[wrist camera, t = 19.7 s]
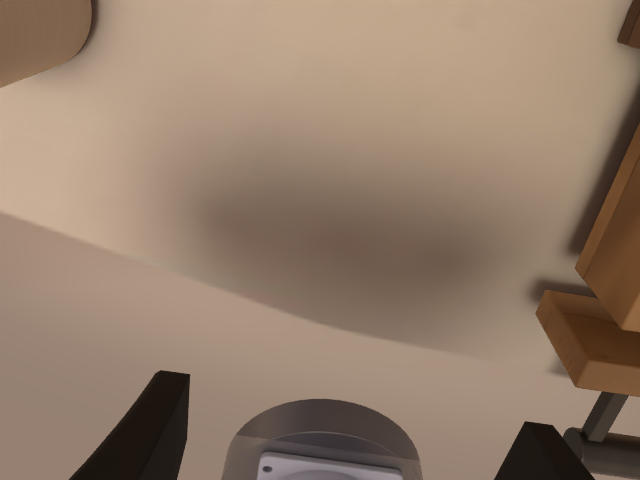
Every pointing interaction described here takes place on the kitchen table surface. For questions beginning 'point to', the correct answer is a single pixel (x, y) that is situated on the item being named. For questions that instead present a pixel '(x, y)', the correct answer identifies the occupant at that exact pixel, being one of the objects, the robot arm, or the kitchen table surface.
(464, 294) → the kitchen table surface
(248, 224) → the kitchen table surface
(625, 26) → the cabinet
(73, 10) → the metal canister
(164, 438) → the robot arm
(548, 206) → the kitchen table surface
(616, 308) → the drawer
